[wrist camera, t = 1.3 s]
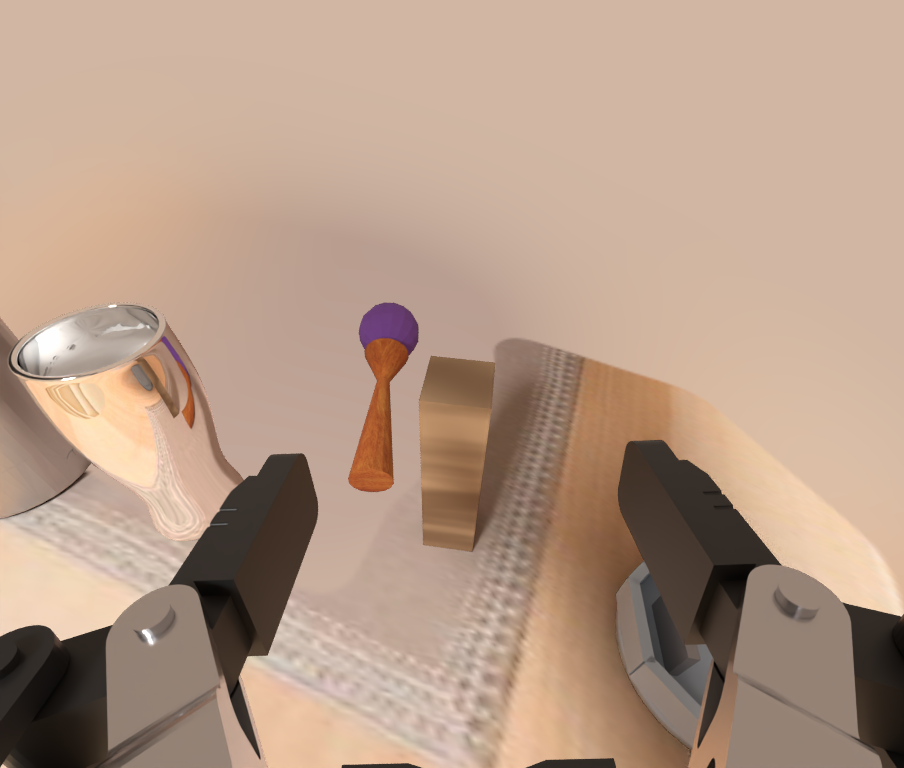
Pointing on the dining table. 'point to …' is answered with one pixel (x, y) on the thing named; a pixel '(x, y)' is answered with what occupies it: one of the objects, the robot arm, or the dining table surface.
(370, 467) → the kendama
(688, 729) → the blue-grey octagonal holder
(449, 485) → the wooden block
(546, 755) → the dining table surface
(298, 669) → the dining table surface
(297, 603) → the dining table surface
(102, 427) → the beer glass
